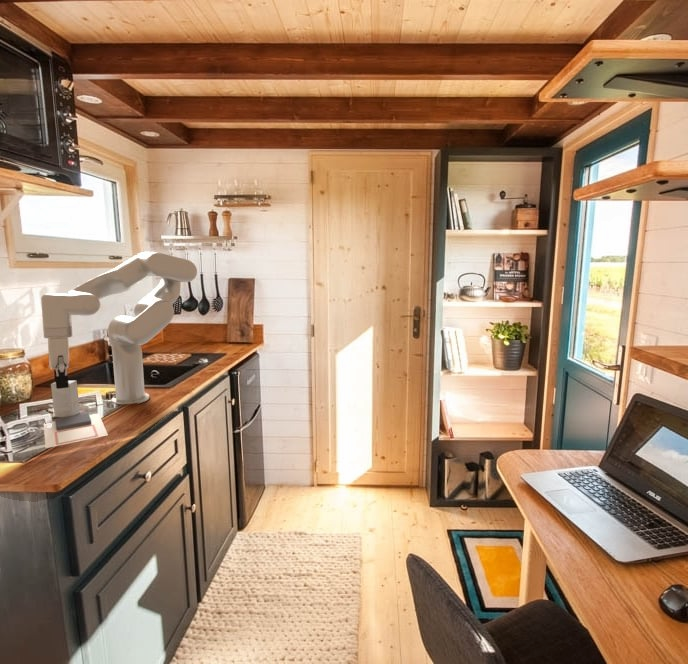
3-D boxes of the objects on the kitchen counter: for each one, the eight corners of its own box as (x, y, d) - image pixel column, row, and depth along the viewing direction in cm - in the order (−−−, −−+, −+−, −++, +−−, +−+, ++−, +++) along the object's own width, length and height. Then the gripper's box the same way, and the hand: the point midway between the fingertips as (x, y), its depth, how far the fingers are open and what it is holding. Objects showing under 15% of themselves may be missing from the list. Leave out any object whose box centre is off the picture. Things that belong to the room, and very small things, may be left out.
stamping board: (43, 425, 129) (43, 422, 129) (98, 415, 138) (98, 413, 138) (45, 450, 113) (45, 447, 113) (108, 437, 122) (108, 434, 122)
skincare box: (80, 414, 139) (77, 380, 137) (73, 419, 135) (69, 384, 133) (62, 414, 139) (58, 380, 137) (54, 419, 135) (50, 383, 133)
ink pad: (55, 422, 130) (54, 418, 130) (88, 416, 136) (88, 412, 135) (56, 430, 124) (56, 426, 124) (91, 424, 129) (91, 420, 129)
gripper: (42, 329, 136) (46, 379, 139) (44, 337, 123) (48, 392, 125) (70, 327, 141) (73, 376, 143) (74, 335, 127) (77, 389, 130)
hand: (61, 384), depth 134 cm, fingers open, 9 cm apart
